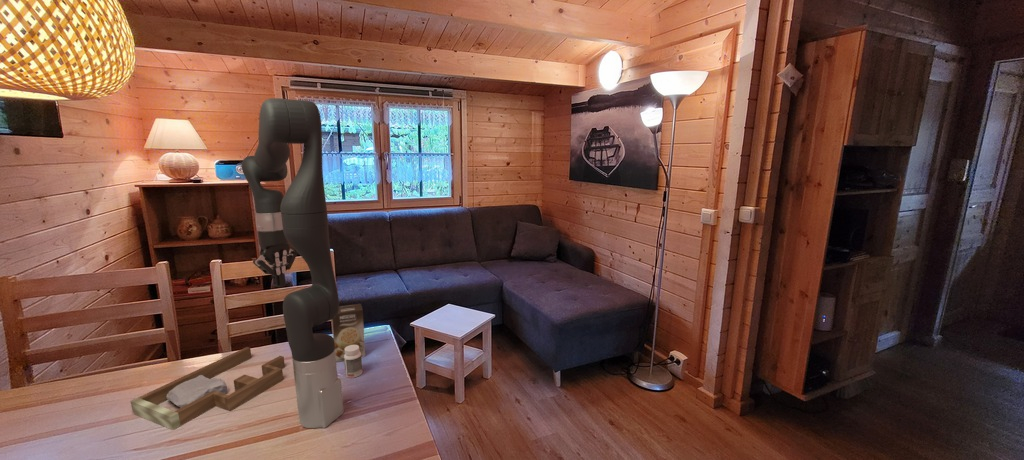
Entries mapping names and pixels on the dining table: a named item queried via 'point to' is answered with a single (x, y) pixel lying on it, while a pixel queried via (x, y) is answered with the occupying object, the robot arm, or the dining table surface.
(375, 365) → the dining table surface
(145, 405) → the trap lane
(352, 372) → the pill bottle
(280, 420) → the dining table surface
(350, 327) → the coffee box
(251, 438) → the dining table surface
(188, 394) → the stone block
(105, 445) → the dining table surface
